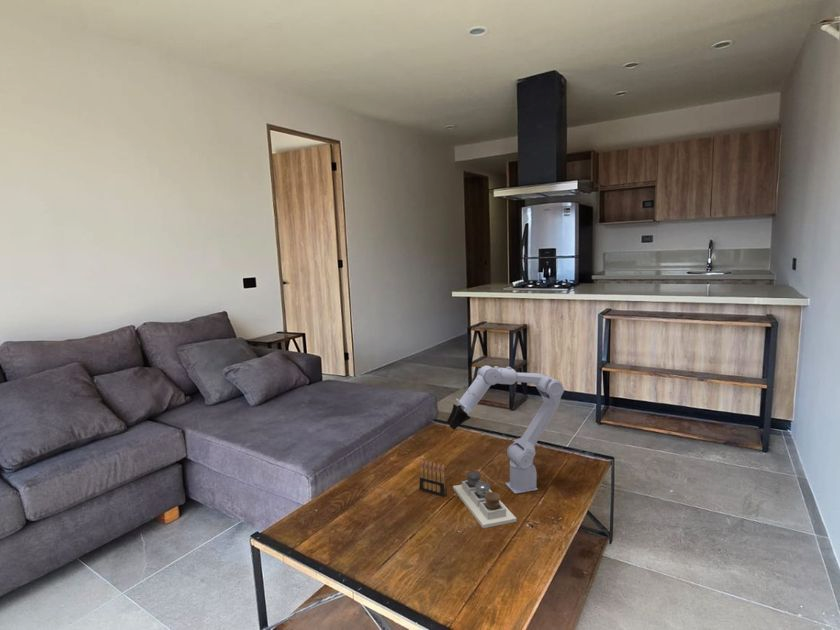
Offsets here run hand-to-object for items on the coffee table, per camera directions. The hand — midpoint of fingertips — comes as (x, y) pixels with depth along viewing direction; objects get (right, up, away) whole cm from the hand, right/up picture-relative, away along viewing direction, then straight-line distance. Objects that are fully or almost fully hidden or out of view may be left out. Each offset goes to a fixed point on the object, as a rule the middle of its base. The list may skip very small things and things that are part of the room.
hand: (450, 426), depth 165 cm
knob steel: (+11, -24, -1) cm, 27 cm away
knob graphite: (+9, -23, +7) cm, 26 cm away
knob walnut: (+14, -25, -8) cm, 30 cm away
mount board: (+11, -27, 0) cm, 30 cm away
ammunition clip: (-6, -27, +8) cm, 29 cm away
